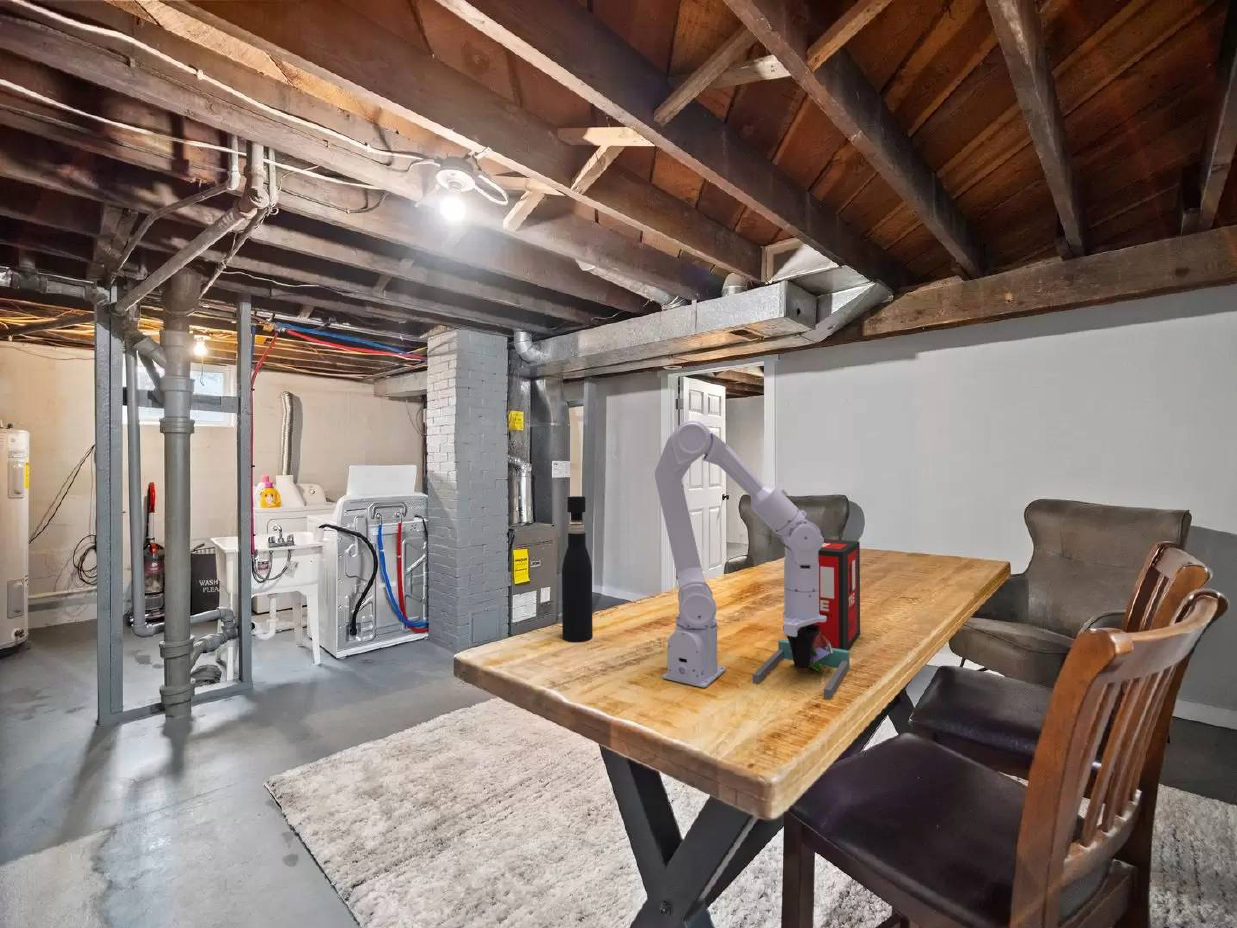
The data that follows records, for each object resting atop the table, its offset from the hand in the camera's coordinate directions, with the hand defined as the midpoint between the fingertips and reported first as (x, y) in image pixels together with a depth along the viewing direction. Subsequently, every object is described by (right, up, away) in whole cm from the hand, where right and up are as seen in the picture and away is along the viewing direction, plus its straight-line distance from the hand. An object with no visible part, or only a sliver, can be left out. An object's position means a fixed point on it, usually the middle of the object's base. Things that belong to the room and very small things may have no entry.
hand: (801, 667), depth 95 cm
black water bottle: (-40, -2, +22) cm, 46 cm away
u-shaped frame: (0, -2, +1) cm, 2 cm away
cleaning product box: (+12, -2, +18) cm, 22 cm away
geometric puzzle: (+2, -2, +3) cm, 4 cm away
